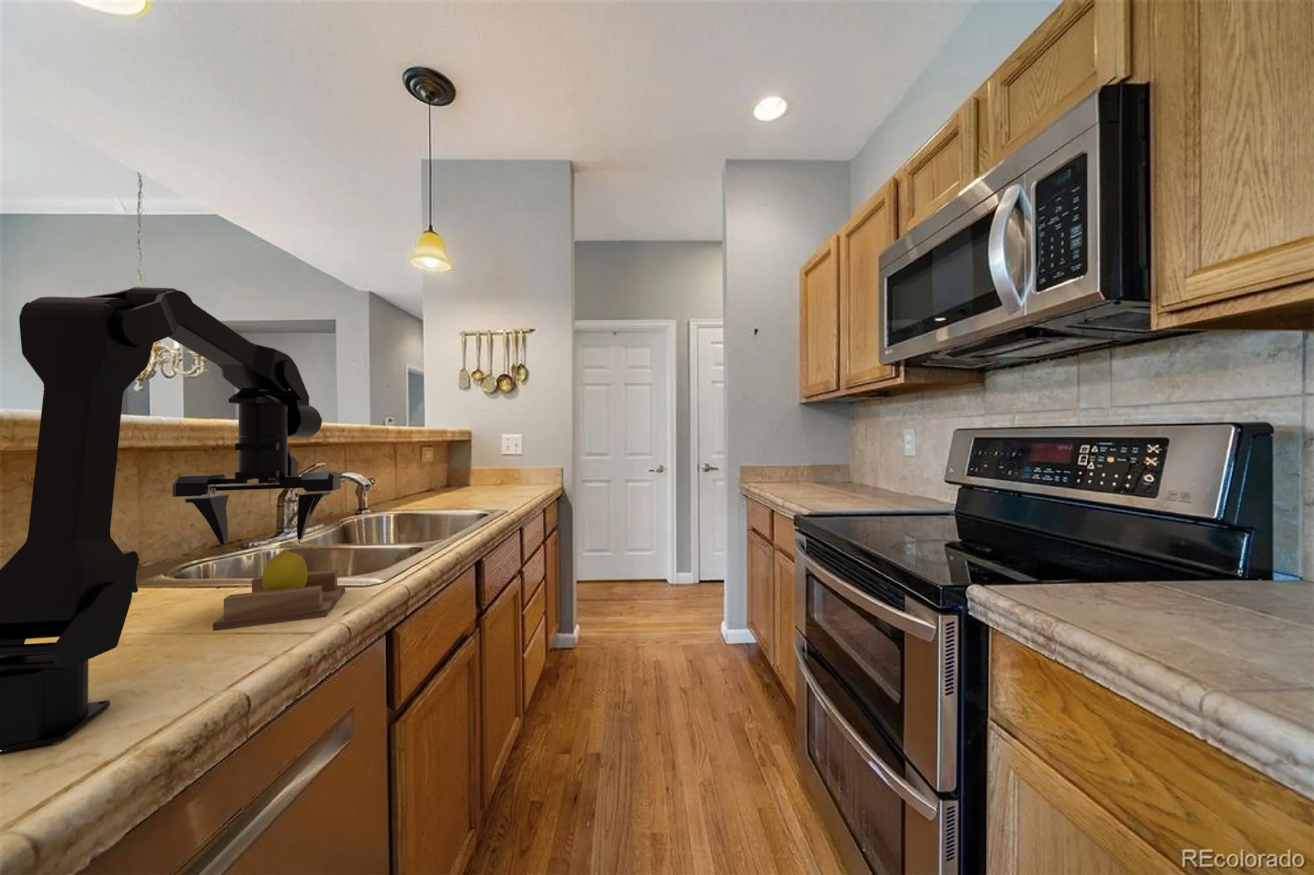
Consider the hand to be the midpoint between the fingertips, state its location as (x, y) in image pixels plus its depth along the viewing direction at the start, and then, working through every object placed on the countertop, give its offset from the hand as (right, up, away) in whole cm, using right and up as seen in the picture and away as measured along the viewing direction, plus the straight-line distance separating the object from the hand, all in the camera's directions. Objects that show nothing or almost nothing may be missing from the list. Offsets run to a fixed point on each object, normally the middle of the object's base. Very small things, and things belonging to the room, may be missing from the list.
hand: (263, 541), depth 72 cm
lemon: (+2, -10, +2) cm, 10 cm away
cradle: (+2, -11, +2) cm, 11 cm away
